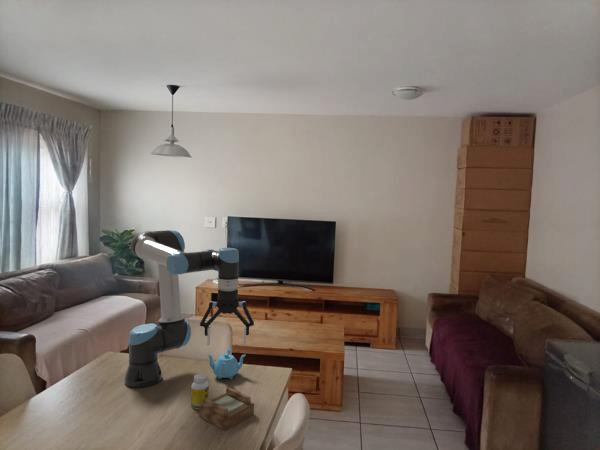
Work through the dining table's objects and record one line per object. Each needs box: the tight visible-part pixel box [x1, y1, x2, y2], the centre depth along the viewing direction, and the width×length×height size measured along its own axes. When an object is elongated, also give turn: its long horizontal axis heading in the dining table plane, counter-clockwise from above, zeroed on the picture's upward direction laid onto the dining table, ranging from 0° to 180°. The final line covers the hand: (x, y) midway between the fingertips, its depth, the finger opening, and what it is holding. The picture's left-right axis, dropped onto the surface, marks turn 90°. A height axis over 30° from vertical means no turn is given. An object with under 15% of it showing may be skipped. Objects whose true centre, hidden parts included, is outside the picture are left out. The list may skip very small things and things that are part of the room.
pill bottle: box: [190, 373, 210, 410], centre depth 155 cm, size 6×6×12 cm
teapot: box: [206, 346, 246, 380], centre depth 181 cm, size 13×13×10 cm
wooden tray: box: [198, 387, 255, 431], centre depth 149 cm, size 14×14×6 cm
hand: (226, 343), depth 154 cm, fingers open, 13 cm apart
